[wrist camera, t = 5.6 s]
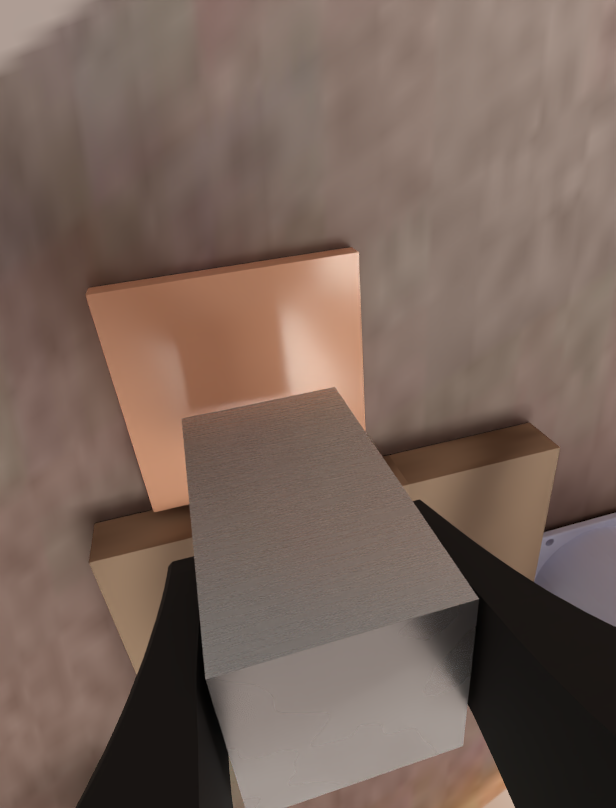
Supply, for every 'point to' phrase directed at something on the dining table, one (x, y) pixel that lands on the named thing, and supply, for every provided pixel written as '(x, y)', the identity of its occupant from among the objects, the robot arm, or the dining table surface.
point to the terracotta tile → (226, 348)
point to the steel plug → (320, 601)
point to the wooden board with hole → (420, 477)
